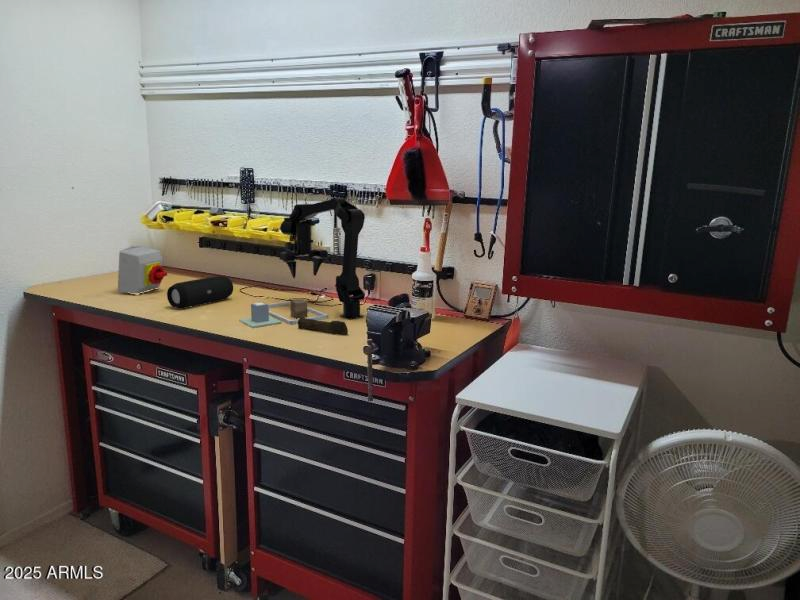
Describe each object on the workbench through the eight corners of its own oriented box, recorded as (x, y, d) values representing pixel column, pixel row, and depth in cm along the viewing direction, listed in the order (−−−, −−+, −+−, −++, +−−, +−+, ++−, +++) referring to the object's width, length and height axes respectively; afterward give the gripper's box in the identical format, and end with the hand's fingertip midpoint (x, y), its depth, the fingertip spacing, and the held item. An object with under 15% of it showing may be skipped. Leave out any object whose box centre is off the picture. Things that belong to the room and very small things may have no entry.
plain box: (307, 317, 217) (307, 301, 216) (296, 319, 214) (296, 303, 213) (301, 314, 220) (301, 299, 219) (290, 316, 218) (290, 300, 216)
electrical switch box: (147, 301, 245) (150, 255, 240) (117, 294, 248) (119, 247, 243) (170, 294, 259) (172, 250, 254) (140, 287, 262) (143, 243, 257)
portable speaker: (182, 311, 222) (180, 285, 220) (166, 307, 227) (164, 282, 225) (235, 299, 243) (234, 276, 241) (219, 296, 248) (218, 273, 246)
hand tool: (296, 329, 202) (296, 316, 201) (304, 326, 205) (303, 313, 204) (342, 338, 193) (342, 324, 192) (349, 335, 196) (349, 321, 195)
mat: (281, 323, 208) (281, 321, 208) (252, 328, 201) (252, 326, 201) (267, 316, 216) (267, 315, 216) (239, 321, 210) (238, 319, 209)
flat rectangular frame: (328, 318, 216) (328, 315, 216) (290, 324, 207) (290, 321, 206) (291, 303, 237) (291, 300, 237) (255, 309, 227) (255, 306, 227)
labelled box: (268, 321, 208) (268, 304, 207) (257, 322, 206) (256, 305, 204) (263, 318, 212) (262, 301, 210) (251, 320, 209) (250, 303, 208)
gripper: (314, 233, 239) (314, 271, 242) (272, 236, 227) (273, 275, 231) (328, 236, 230) (329, 275, 234) (285, 239, 219) (286, 280, 222)
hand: (304, 276), depth 231 cm, fingers open, 9 cm apart
